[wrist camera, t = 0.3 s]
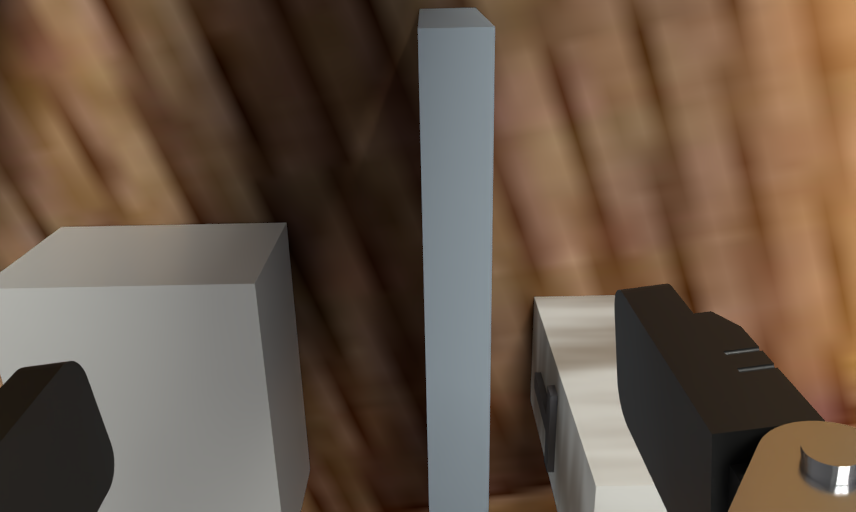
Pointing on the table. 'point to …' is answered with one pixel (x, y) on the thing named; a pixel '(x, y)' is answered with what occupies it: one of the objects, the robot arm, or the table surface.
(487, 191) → the screen
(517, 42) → the table surface
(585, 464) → the lettered block
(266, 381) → the plinth
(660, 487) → the robot arm
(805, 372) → the table surface
